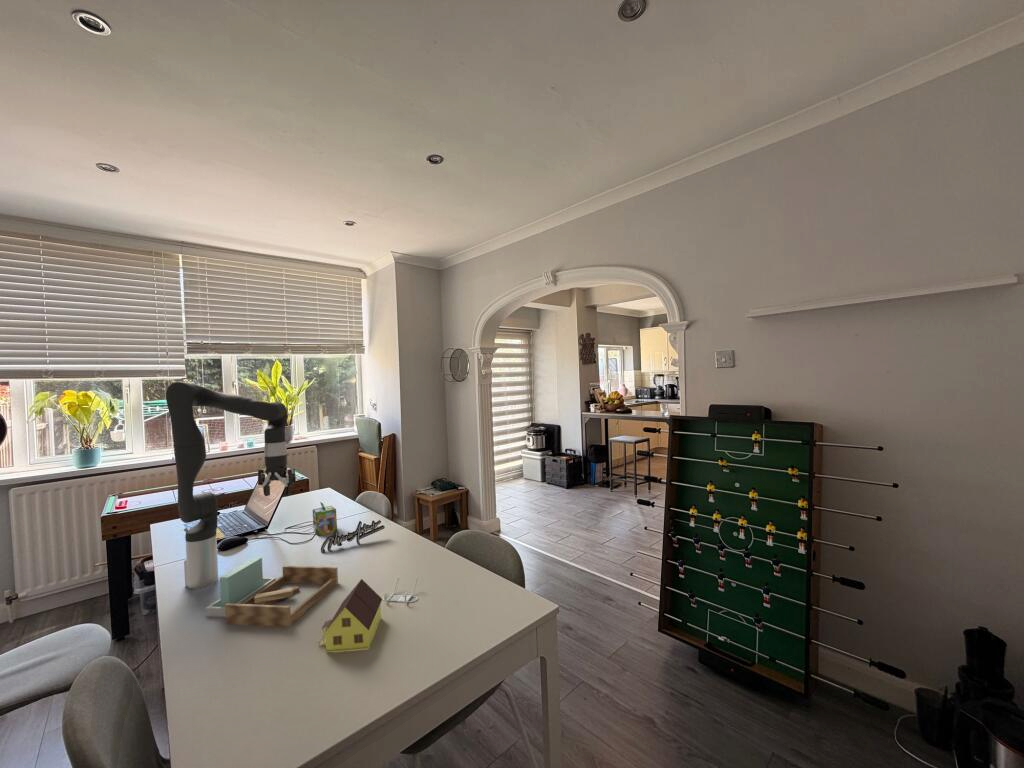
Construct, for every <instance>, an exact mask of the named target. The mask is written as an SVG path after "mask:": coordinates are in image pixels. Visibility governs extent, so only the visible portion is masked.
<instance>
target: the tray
mask: <svg viewBox="0 0 1024 768" xmlns="http://www.w3.org/2000/svg"><path fill="white" fill-rule="evenodd" d="M276 579H277V578H276V577H264V576H263V585H262V586H261V587H259V588H258V589H256V590H255V591H253V592H252V593H250V594H249V595H248V596H246V597H245V598H243V599H242V600H240V601H239V602H237V603H236V604H242V603H243V602H245V601H246V600H248V599H249V598H250V597H252V596H253V595H255V594H256V593H258V592H259V591H261V590H262V589H263V588H265V587H266V586H268V585H269V584H271V583H272V582H273V581H275V580H276ZM205 615H206V617H213V618H226V616H225V607H221V598H219V599H218V600H216V601H214V602H212V603H211V604H210V605H208V606H207V607H205Z"/></svg>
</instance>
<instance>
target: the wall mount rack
mask: <svg viewBox="0 0 1024 768" xmlns="http://www.w3.org/2000/svg"><path fill="white" fill-rule="evenodd" d="M399 580H400V577H399V576H398V577H397V578H396V581H395V585H394V589H393V593H392V594H388V593H389V591H386V592H385V594H384V596H383V597H382V602H383V601H384V602H385V603H388V602H390V603H403V604H408V603H409V604H413V603H415V602H417V601H418V599H419V597H418V596H416V595H414V593H415V590H416V586H417V583H418V580H419V577H416V578H415V581H414V582H415V583H414V586H413V589H412V594H411V595H410V594H409V595H408V591H406V592H405V594H395V593H396V590H397V585H398V582H399ZM387 597H389V598H387ZM411 598H415V599H414V600H410V599H411Z"/></svg>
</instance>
